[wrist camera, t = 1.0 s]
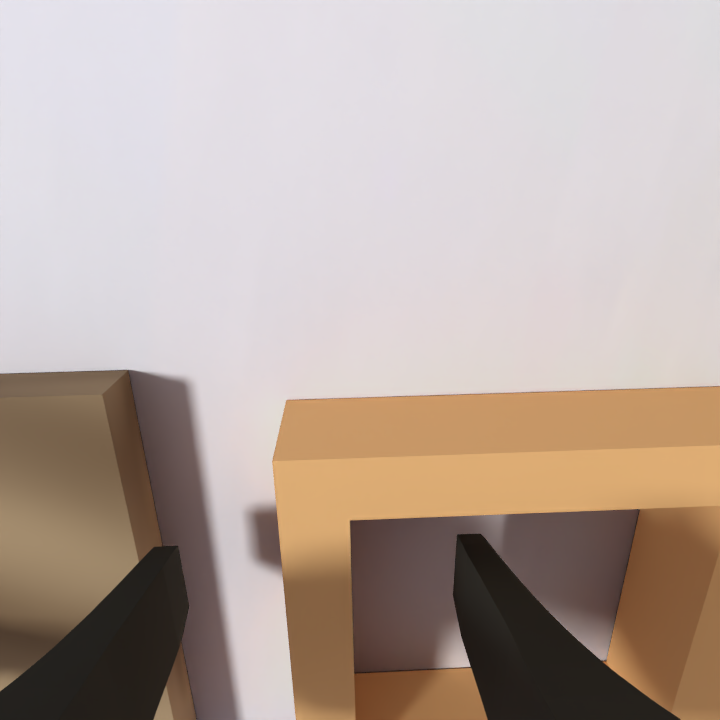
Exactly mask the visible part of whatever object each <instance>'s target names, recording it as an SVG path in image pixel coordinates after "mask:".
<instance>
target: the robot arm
mask: <svg viewBox="0 0 720 720" xmlns="http://www.w3.org/2000/svg"><path fill="white" fill-rule="evenodd" d="M453 597H454V602H455V607H456V613H457V618H458V622H459V627H460V632H461V636H462V640H463V643H464V646H465V649H466V653H467V656H468V659H469V662H470V665H471V669H472V672H473V675H474V678H475V681H476V684H477V687H478V691H479V694H480V697H481V700H482V703H483V706H484V710H485V713H486V716H487V719H488V720H681V719H680V718H678V717H677V716H675V715H674V714H672V713H671V712H669V711H668V710H666V709H665V708H663V707H662V706H660V705H659V704H657V703H656V702H655V701H653V700H652V699H650V698H649V697H648V696H646V695H645V694H644V693H642V692H641V691H640V690H638V689H637V688H636V687H634V686H633V685H632V684H630V683H629V682H628V681H626V680H625V679H624V678H622V677H621V676H620V675H618V674H617V673H616V672H614V671H613V670H612V669H611V668H609V667H608V666H607V665H606V664H605V663H603V662H602V661H601V660H600V659H598V658H597V657H596V656H595V655H594V654H593V653H592V652H590V651H589V650H588V649H587V648H586V647H585V646H584V645H582V644H581V643H580V642H579V641H578V640H577V639H576V638H575V637H574V636H573V635H572V634H571V633H569V632H568V631H567V630H566V629H565V628H564V627H563V626H562V625H561V624H560V623H559V622H558V621H557V620H556V619H555V618H554V617H553V616H552V615H551V614H550V613H549V612H548V611H547V610H546V609H545V608H544V607H543V606H542V604H541V603H540V602H539V601H538V600H537V599H536V598H535V597H534V596H533V595H532V594H531V593H530V591H529V590H528V589H527V588H526V587H525V586H524V585H523V584H522V583H521V581H520V580H519V579H518V578H517V577H516V576H515V575H514V573H513V572H512V571H511V570H510V569H509V567H508V566H507V565H506V564H505V563H504V561H503V560H502V559H501V558H500V557H499V555H498V554H497V553H496V552H495V550H494V549H493V548H492V547H491V545H490V544H489V543H488V541H487V540H486V539H485V538H484V537H483V536H482V535H481V534H458V535H457V544H456V559H455V574H454V589H453ZM188 609H189V603H188V598H187V592H186V587H185V582H184V576H183V571H182V565H181V560H180V554H179V549H178V546H161V547H153V548H152V549H151V550H150V551H149V552H148V553H147V554H146V555H145V556H144V557H143V558H142V560H141V561H140V562H139V563H138V564H137V565H136V566H135V567H134V568H133V569H132V570H131V571H130V572H129V573H128V574H127V575H126V576H125V577H124V578H123V580H122V581H121V582H120V583H119V584H118V585H117V586H116V587H115V588H114V589H113V590H112V591H111V592H110V593H109V594H108V595H107V596H106V597H105V598H104V599H103V600H102V601H101V602H100V603H99V604H98V605H97V606H96V607H95V608H94V609H93V610H92V611H91V612H90V613H89V614H88V615H87V616H86V617H85V618H84V619H83V620H82V621H81V622H80V623H79V624H78V625H77V626H76V627H75V628H74V629H73V630H71V631H70V632H69V633H68V634H67V635H66V636H65V637H64V638H63V639H62V640H61V641H60V642H59V643H58V644H57V645H55V646H54V647H53V648H52V649H51V650H50V651H49V652H48V653H46V654H45V655H44V656H43V657H42V658H41V659H39V660H38V661H37V662H36V663H35V664H34V665H32V666H31V667H30V668H29V669H27V670H26V671H25V672H24V673H23V674H21V675H20V676H19V677H18V678H16V679H15V680H14V681H13V682H12V683H10V684H9V685H8V686H6V687H5V688H4V689H3V690H1V691H0V720H153V719H154V717H155V714H156V711H157V708H158V706H159V703H160V700H161V697H162V695H163V692H164V689H165V687H166V684H167V681H168V678H169V675H170V673H171V670H172V667H173V664H174V662H175V659H176V656H177V653H178V650H179V647H180V643H181V639H182V635H183V631H184V627H185V622H186V618H187V614H188Z"/></svg>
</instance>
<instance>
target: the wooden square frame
mask: <svg viewBox="0 0 720 720" xmlns="http://www.w3.org/2000/svg"><path fill="white" fill-rule="evenodd" d="M272 463H273V474H274V485H275V496H276V507H277V518H278V529H279V540H280V551H281V562H282V573H283V583H284V594H285V605H286V616H287V627H288V638H289V649H290V660H291V671H292V682H293V693H294V704H295V715H296V720H488V719H487V716H486V713H485V710H484V706H483V703H482V700H481V697H480V694H479V691H478V687H477V684H476V681H475V678H474V675H473V672H472V669H471V668H459V669H438V670H418V671H398V672H377V673H357V674H354V649H353V614H352V579H351V544H350V520H373V519H398V518H423V517H449V516H474V515H499V514H525V513H550V512H575V511H600V510H626V509H640V512H639V516H638V521H637V525H636V530H635V534H634V539H633V543H632V548H631V552H630V557H629V561H628V566H627V570H626V575H625V579H624V584H623V588H622V593H621V597H620V602H619V606H618V611H617V615H616V620H615V625H614V629H613V634H612V638H611V643H610V647H609V652H608V656H607V661H602V662H603V663H605V664H606V665H607V666H608V667H609V668H611V669H612V670H613V671H614V672H616V673H617V674H618V675H620V676H621V677H622V678H624V679H625V680H626V681H628V682H629V683H630V684H632V685H633V686H634V687H636V688H637V689H638V690H640V691H641V692H642V693H644V694H645V695H646V696H648V697H649V698H650V699H652V700H653V701H655V702H656V703H657V704H659V705H660V706H662V707H663V708H665V709H666V710H668V711H669V712H671V713H672V714H674V715H675V716H677V717H678V718H680V719H681V720H720V387H690V388H659V389H627V390H596V391H564V392H533V393H501V394H470V395H438V396H407V397H375V398H344V399H312V400H286V404H285V408H284V413H283V417H282V421H281V426H280V430H279V434H278V439H277V443H276V448H275V452H274V456H273V461H272Z"/></svg>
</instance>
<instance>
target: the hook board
mask: <svg viewBox="0 0 720 720" xmlns="http://www.w3.org/2000/svg"><path fill="white" fill-rule="evenodd" d="M161 546H162V541H161V536H160V531H159V526H158V521H157V515H156V510H155V505H154V500H153V495H152V490H151V485H150V480H149V475H148V469H147V464H146V459H145V454H144V449H143V444H142V439H141V434H140V429H139V423H138V418H137V413H136V408H135V403H134V398H133V393H132V388H131V383H130V378H129V372H128V370H119V371H85V372H52V373H18V374H0V691H1V690H3V689H4V688H5V687H6V686H8V685H9V684H10V683H12V682H13V681H14V680H15V679H16V678H18V677H19V676H20V675H21V674H23V673H24V672H25V671H26V670H27V669H29V668H30V667H31V666H32V665H34V664H35V663H36V662H37V661H38V660H39V659H41V658H42V657H43V656H44V655H45V654H46V653H48V652H49V651H50V650H51V649H52V648H53V647H54V646H55V645H57V644H58V643H59V642H60V641H61V640H62V639H63V638H64V637H65V636H66V635H67V634H68V633H69V632H70V631H71V630H73V629H74V628H75V627H76V626H77V625H78V624H79V623H80V622H81V621H82V620H83V619H84V618H85V617H86V616H87V615H88V614H89V613H90V612H91V611H92V610H93V609H94V608H95V607H96V606H97V605H98V604H99V603H100V602H101V601H102V600H103V599H104V598H105V597H106V596H107V595H108V594H109V593H110V592H111V591H112V590H113V589H114V588H115V587H116V586H117V585H118V584H119V583H120V582H121V581H122V580H123V578H124V577H125V576H126V575H127V574H128V573H129V572H130V571H131V570H132V569H133V568H134V567H135V566H136V565H137V564H138V563H139V562H140V561H141V560H142V558H143V557H144V556H145V555H146V554H147V553H148V552H149V551H150V550H151V549H152V548H153V547H161ZM153 720H196V715H195V709H194V704H193V699H192V694H191V689H190V684H189V679H188V674H187V669H186V664H185V658H184V653H183V648H182V643H180V647H179V650H178V653H177V656H176V659H175V662H174V664H173V667H172V670H171V673H170V675H169V678H168V681H167V684H166V687H165V689H164V692H163V695H162V697H161V700H160V703H159V706H158V708H157V711H156V714H155V717H154V719H153Z"/></svg>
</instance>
